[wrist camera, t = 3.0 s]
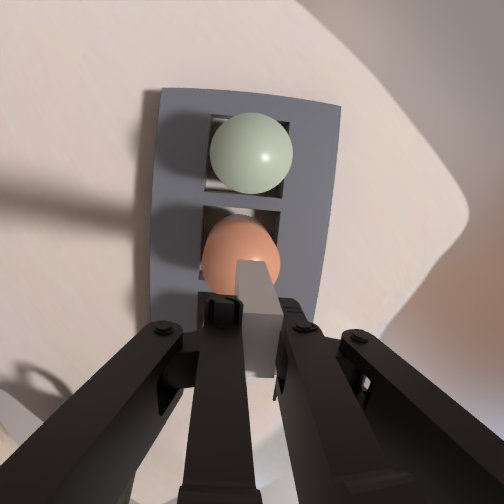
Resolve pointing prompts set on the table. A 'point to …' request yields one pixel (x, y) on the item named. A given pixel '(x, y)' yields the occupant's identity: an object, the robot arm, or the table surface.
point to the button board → (237, 196)
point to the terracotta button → (236, 251)
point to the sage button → (251, 153)
